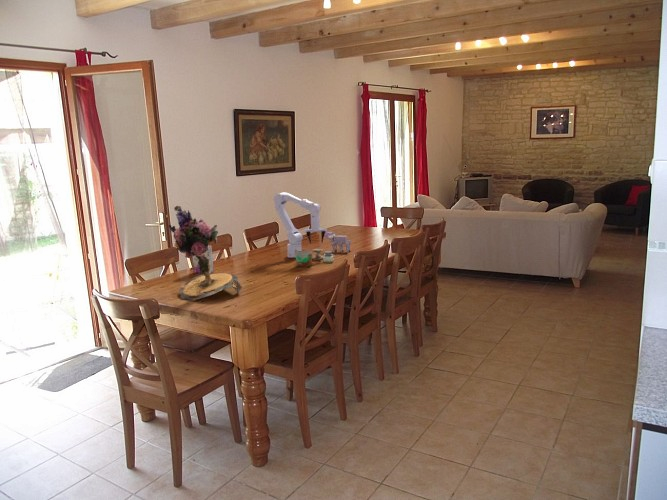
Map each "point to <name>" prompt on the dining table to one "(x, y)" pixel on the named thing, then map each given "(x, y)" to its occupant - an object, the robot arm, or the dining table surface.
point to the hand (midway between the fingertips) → (316, 242)
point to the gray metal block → (328, 253)
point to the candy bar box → (207, 255)
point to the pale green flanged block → (328, 259)
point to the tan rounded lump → (318, 254)
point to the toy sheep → (338, 241)
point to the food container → (303, 258)
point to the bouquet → (199, 257)
